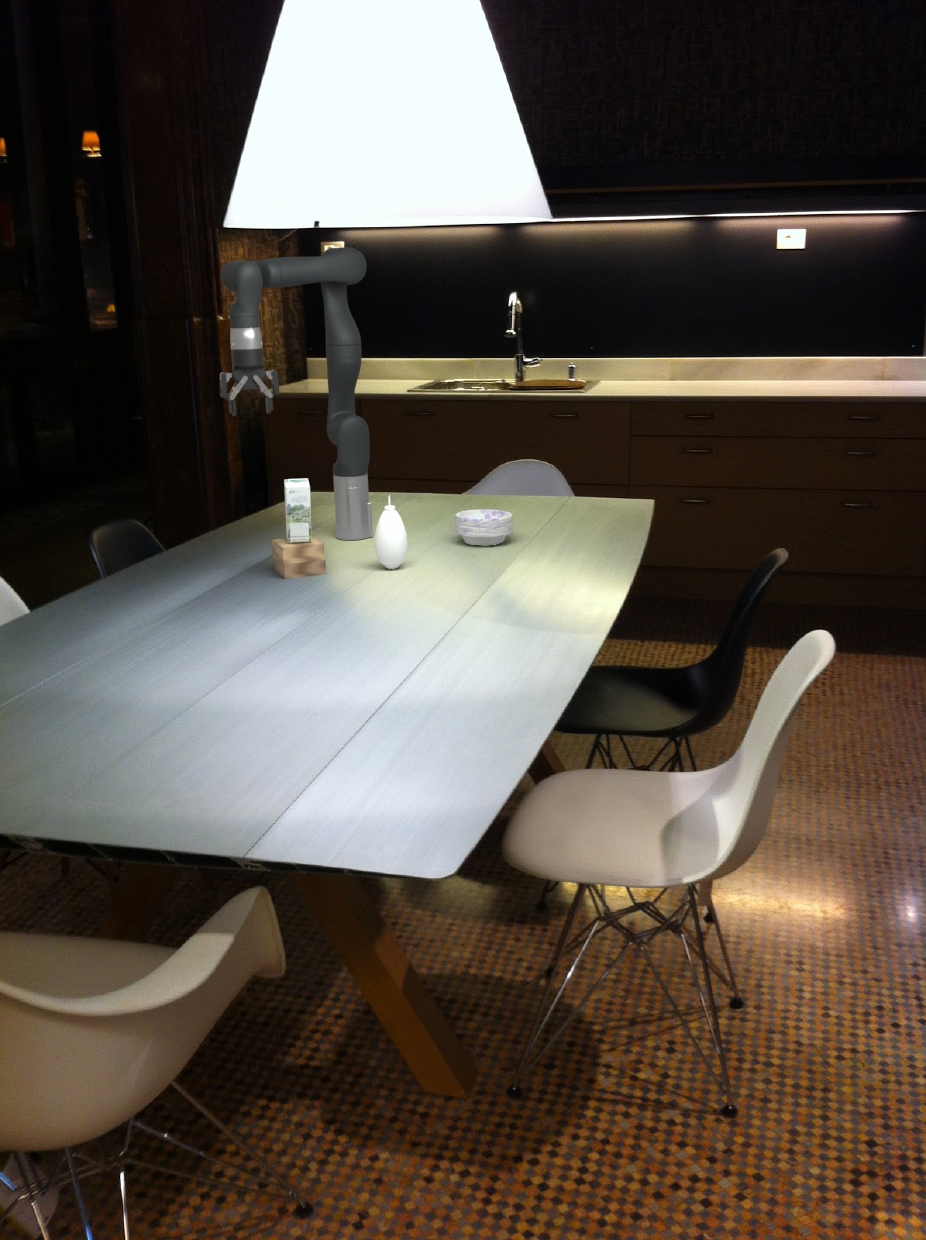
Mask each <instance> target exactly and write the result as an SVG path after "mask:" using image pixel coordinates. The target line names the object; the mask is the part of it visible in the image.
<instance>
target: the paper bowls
mask: <svg viewBox="0 0 926 1240" xmlns="http://www.w3.org/2000/svg"><path fill="white" fill-rule="evenodd" d="M513 516H514V515H513V513H512V512H509V511H507V510H499V509H484V508H483V509H468V510H467V509H466V510H462V511H461V510H460V511H459V512H455V515H454V532H455V533H456V534H458V535H461V537H462V540H463V541H464V542H465V544H467V545H469V544H470V546H473V545H494V544H498V543H501V542H502V543H504V541H505V540H506V537H507V536H508V535H511V534H512V533H513V532H514V529H513V523H514V522H513V521H514V520H513V519H514V518H513ZM502 543H501V544H502ZM494 546H495V545H494Z"/></svg>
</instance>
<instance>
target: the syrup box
mask: <svg viewBox="0 0 926 1240" xmlns="http://www.w3.org/2000/svg"><path fill="white" fill-rule="evenodd" d="M283 481H284V482H283V485H284V486H283V487H284V505H285V508H284V509H285V529H286V530H285V533H286V538H287V540H288V543H306V542H312V539H311V535H312V517H311V516H312V515H311V514H312V513H311V510H312V509H311V508H312V507H311V486H310V481H309V478H306V477H305V478H288V479H283Z"/></svg>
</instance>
